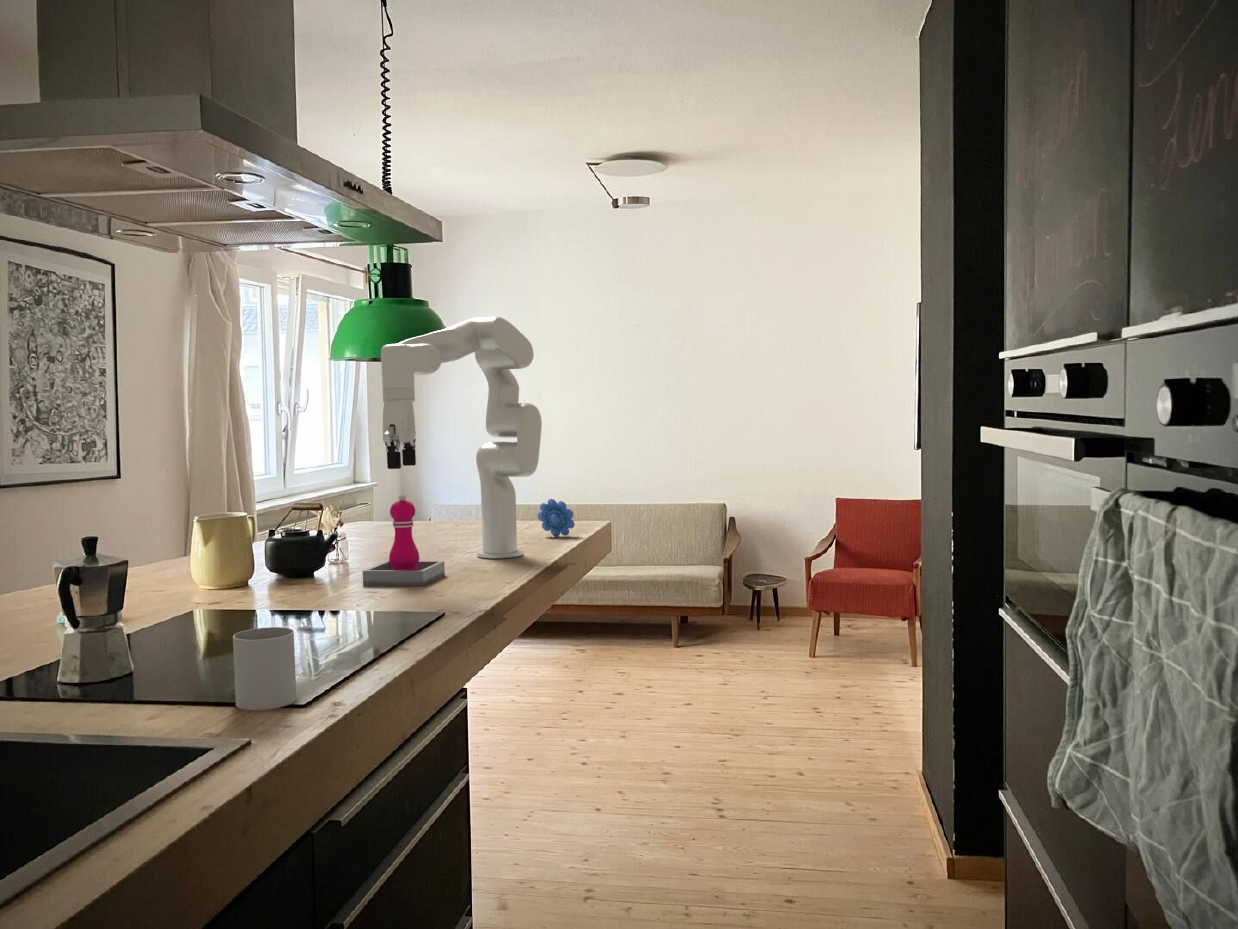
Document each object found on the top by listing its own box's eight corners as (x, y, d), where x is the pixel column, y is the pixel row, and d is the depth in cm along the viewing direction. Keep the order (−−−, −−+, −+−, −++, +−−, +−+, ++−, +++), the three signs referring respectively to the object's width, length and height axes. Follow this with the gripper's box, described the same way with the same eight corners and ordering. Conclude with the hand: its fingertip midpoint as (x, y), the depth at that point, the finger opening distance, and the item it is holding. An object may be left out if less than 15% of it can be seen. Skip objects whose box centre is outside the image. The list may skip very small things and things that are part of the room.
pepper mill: (423, 573, 254) (420, 492, 252) (415, 578, 246) (412, 495, 245) (395, 573, 254) (392, 492, 253) (385, 579, 247) (382, 495, 246)
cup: (291, 690, 155) (288, 624, 155) (302, 704, 148) (299, 635, 148) (231, 699, 151) (228, 631, 151) (240, 713, 144) (237, 643, 144)
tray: (387, 574, 259) (387, 560, 259) (444, 575, 257) (444, 561, 257) (363, 585, 245) (362, 570, 244) (423, 586, 242) (423, 571, 242)
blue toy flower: (536, 538, 322) (535, 500, 321) (539, 535, 328) (538, 498, 328) (573, 538, 321) (572, 499, 320) (575, 535, 328) (574, 497, 327)
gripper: (397, 395, 257) (400, 464, 258) (369, 397, 240) (373, 470, 241) (426, 395, 256) (429, 464, 257) (400, 396, 239) (403, 469, 240)
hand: (402, 467), depth 249 cm, fingers open, 9 cm apart
